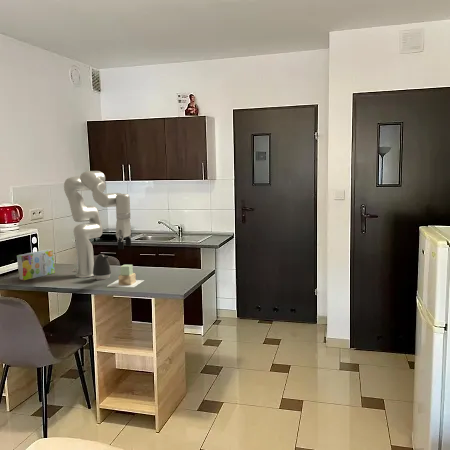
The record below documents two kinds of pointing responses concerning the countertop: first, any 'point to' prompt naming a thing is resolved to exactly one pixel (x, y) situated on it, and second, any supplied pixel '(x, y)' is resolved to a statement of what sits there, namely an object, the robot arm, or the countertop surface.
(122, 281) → the oak block
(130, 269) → the sage cube
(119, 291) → the countertop surface
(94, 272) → the pump dispenser
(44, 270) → the snack box
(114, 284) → the building board
